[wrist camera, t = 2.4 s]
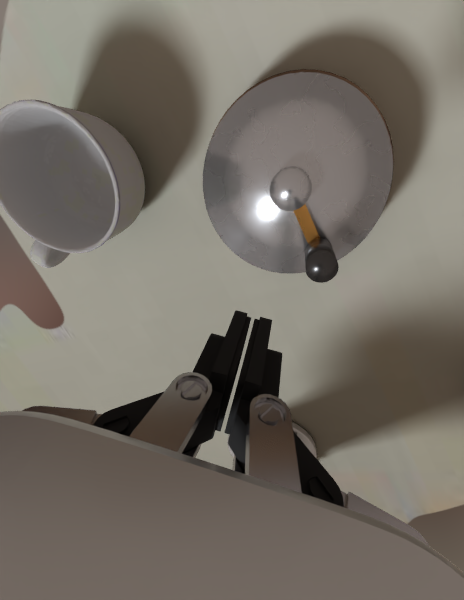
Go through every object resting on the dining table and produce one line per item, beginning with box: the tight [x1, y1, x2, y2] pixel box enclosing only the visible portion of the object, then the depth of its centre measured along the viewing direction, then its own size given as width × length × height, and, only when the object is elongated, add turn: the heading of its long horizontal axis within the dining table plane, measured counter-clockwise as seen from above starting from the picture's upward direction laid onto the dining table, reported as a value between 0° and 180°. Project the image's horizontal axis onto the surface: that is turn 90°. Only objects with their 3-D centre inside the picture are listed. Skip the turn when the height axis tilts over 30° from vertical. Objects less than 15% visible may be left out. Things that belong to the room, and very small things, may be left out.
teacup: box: [0, 100, 145, 268], centre depth 25 cm, size 14×11×8 cm
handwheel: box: [203, 72, 393, 282], centre depth 20 cm, size 14×14×6 cm
